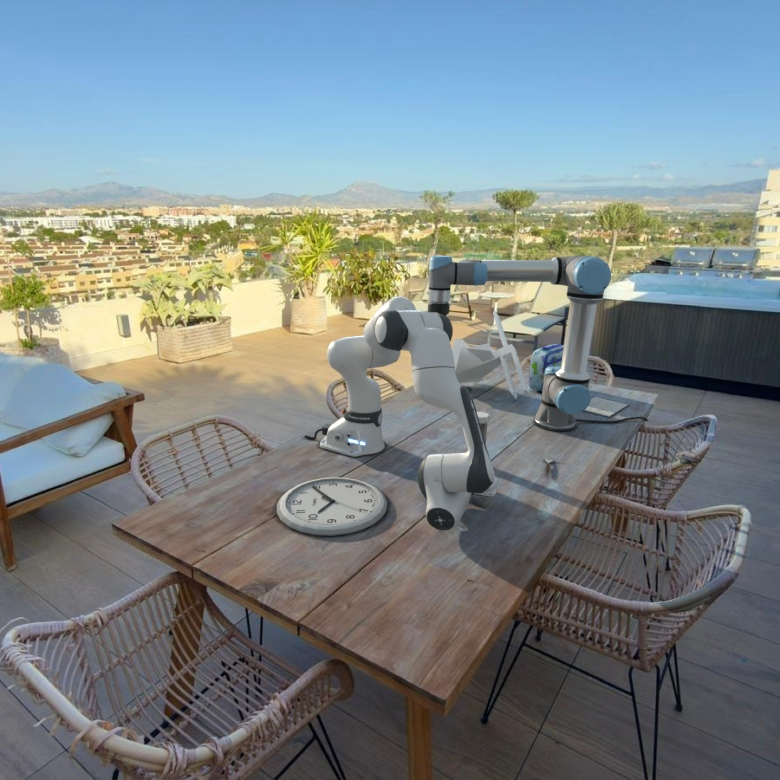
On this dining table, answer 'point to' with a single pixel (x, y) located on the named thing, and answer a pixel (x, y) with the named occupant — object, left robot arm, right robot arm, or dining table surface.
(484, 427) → the grey cylinder
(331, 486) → the wall clock
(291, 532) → the dining table surface
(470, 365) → the white plastic object
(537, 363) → the lunch box
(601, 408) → the invitation card
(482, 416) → the lid
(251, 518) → the dining table surface
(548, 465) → the fork
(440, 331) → the left robot arm
